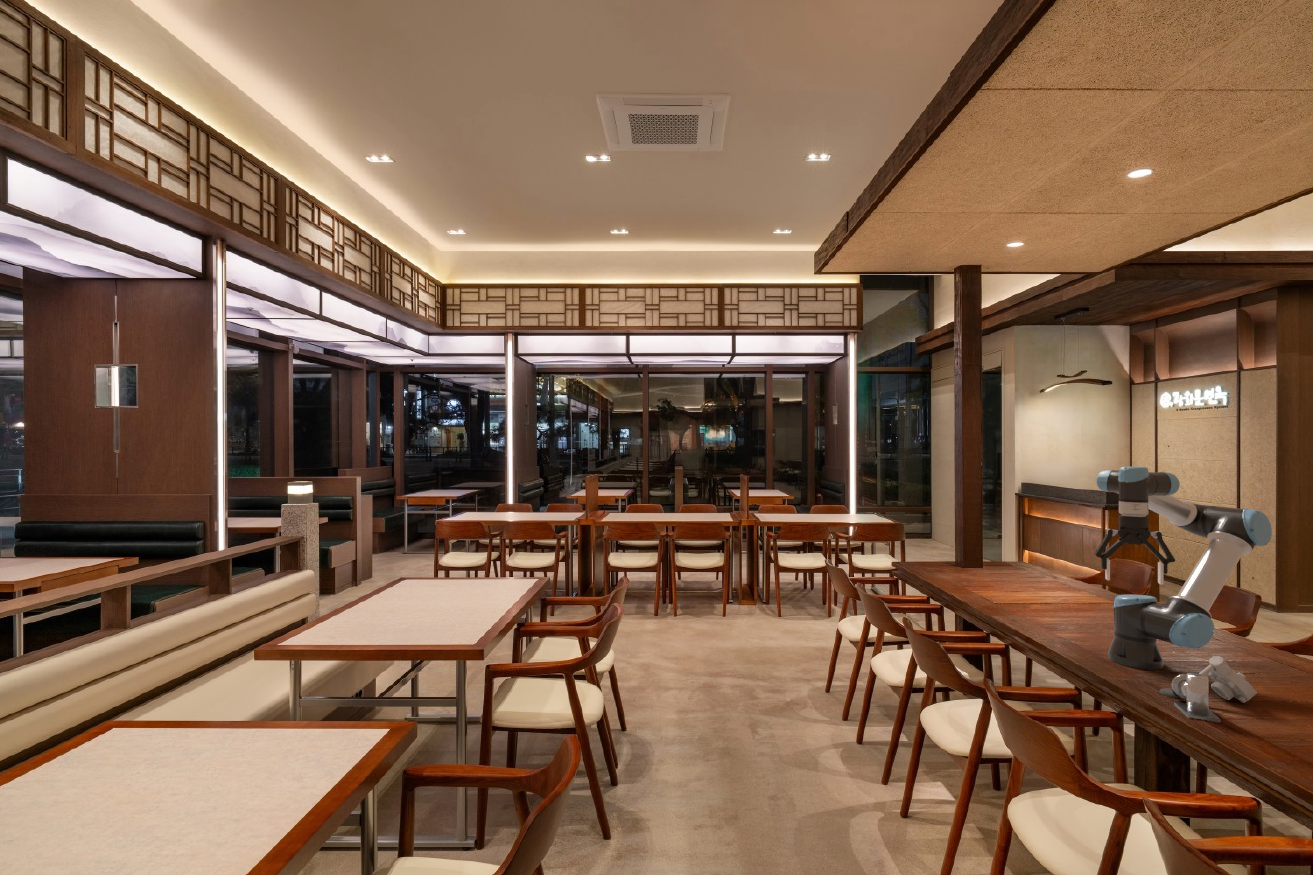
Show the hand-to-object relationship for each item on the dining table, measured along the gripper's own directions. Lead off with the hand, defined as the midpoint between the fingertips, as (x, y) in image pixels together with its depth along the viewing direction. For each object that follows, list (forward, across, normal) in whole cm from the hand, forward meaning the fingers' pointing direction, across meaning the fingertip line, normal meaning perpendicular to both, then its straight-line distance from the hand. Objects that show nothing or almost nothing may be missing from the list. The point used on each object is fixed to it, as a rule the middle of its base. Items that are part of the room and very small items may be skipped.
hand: (1133, 581), depth 193 cm
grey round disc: (+32, +8, -8) cm, 34 cm away
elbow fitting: (+32, +10, -22) cm, 40 cm away
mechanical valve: (+35, +20, -5) cm, 41 cm away
